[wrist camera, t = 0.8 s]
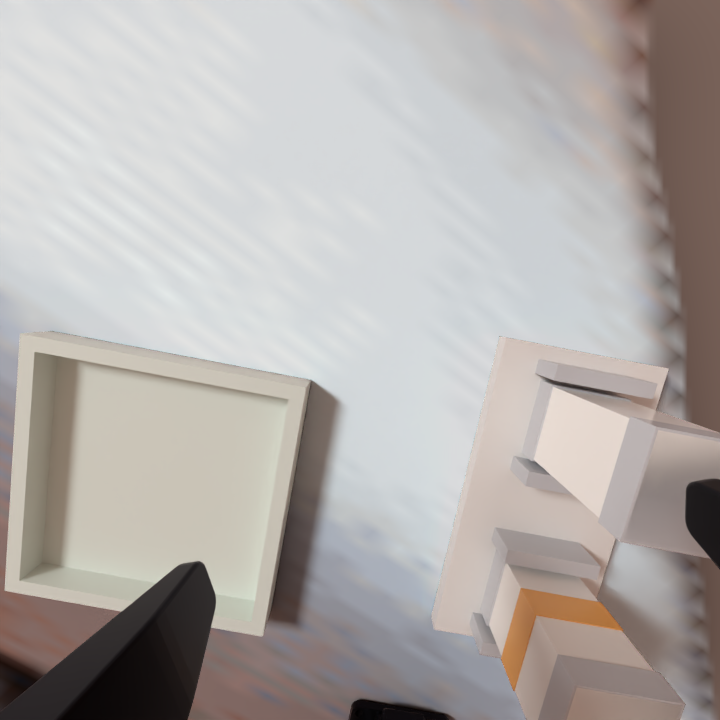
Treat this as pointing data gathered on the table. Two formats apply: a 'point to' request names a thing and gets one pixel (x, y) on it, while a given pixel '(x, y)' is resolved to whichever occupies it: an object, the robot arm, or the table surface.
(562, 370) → the block
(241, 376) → the tray
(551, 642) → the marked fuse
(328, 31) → the table surface
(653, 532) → the plain fuse
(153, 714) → the robot arm
